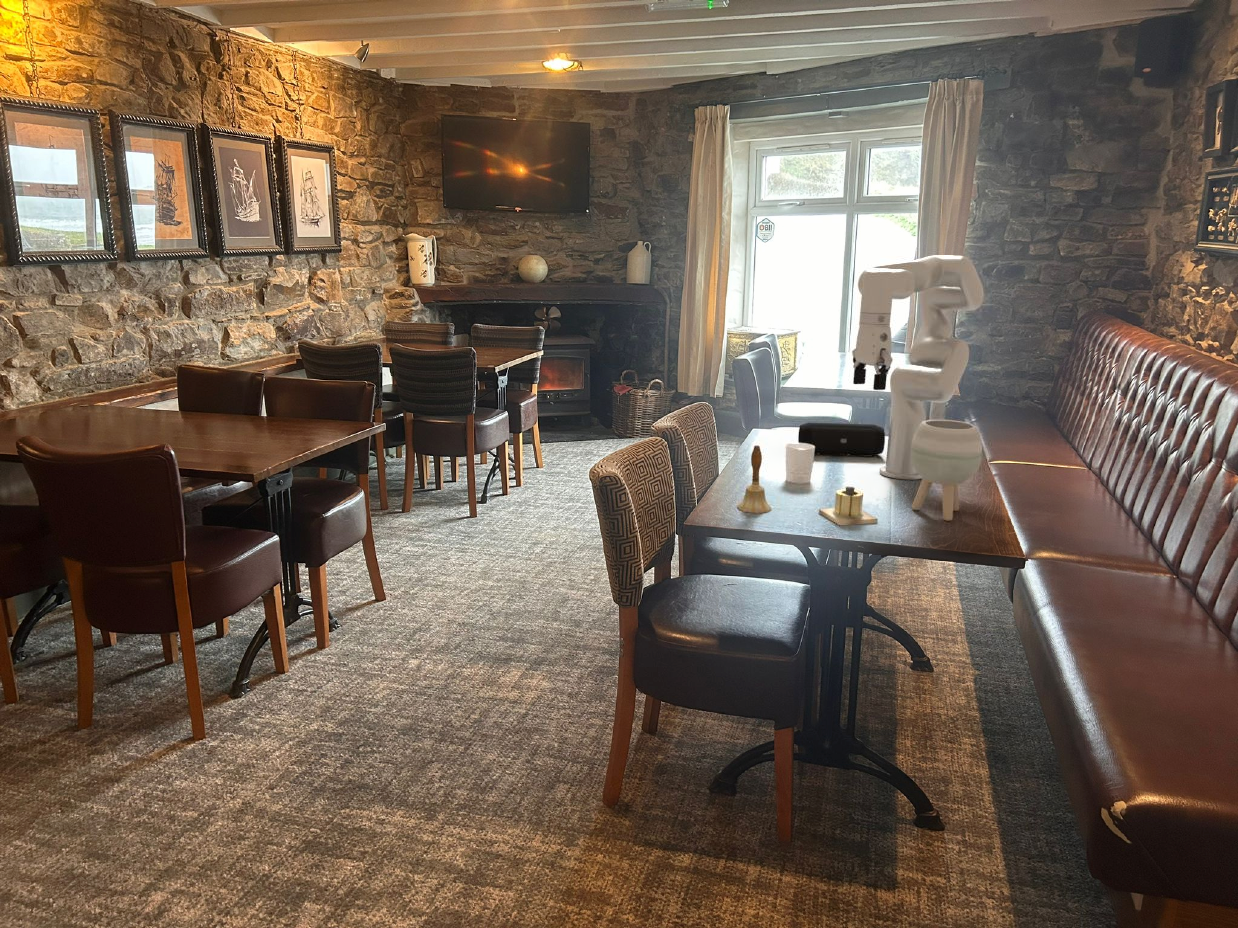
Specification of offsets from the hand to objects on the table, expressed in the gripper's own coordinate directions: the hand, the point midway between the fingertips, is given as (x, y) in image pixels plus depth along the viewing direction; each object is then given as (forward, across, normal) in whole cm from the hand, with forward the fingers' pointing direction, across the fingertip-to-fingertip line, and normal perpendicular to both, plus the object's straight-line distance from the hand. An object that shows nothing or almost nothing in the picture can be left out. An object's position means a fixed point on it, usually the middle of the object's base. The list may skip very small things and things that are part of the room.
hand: (868, 386), depth 221 cm
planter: (+28, -22, -9) cm, 37 cm away
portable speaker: (+29, +41, -17) cm, 53 cm away
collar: (+27, -20, +15) cm, 37 cm away
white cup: (+28, +14, +11) cm, 34 cm away
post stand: (+28, -20, +15) cm, 38 cm away
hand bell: (+29, -8, +34) cm, 45 cm away
